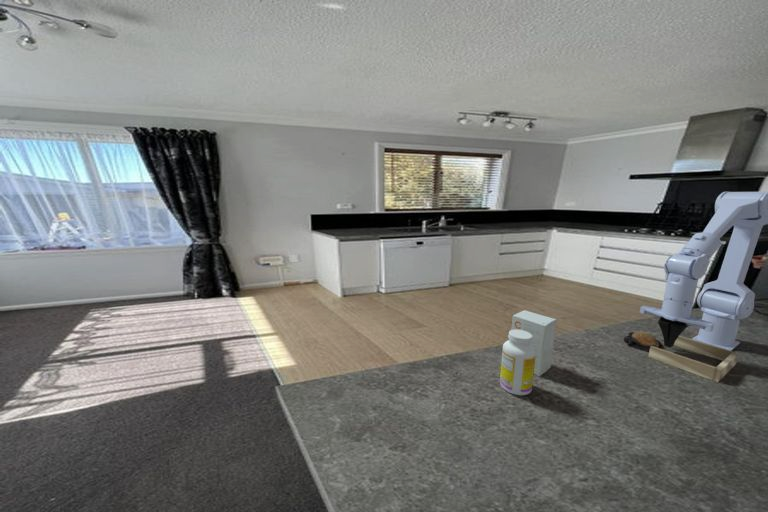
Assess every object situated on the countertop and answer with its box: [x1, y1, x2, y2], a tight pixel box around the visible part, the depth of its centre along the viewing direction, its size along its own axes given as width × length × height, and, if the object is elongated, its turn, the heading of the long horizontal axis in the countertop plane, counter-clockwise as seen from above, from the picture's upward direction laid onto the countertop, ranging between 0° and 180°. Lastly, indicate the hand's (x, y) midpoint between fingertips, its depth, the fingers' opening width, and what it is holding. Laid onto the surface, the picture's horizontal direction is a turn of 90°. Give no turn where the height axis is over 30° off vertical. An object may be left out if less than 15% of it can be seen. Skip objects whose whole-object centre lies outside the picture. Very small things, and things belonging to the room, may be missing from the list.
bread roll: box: [623, 331, 663, 353], centre depth 88 cm, size 11×8×4 cm
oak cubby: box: [648, 335, 740, 383], centre depth 79 cm, size 16×13×3 cm
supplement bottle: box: [499, 329, 536, 396], centre depth 66 cm, size 7×7×13 cm
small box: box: [511, 309, 557, 377], centre depth 75 cm, size 8×6×13 cm
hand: (668, 345), depth 83 cm, fingers closed
